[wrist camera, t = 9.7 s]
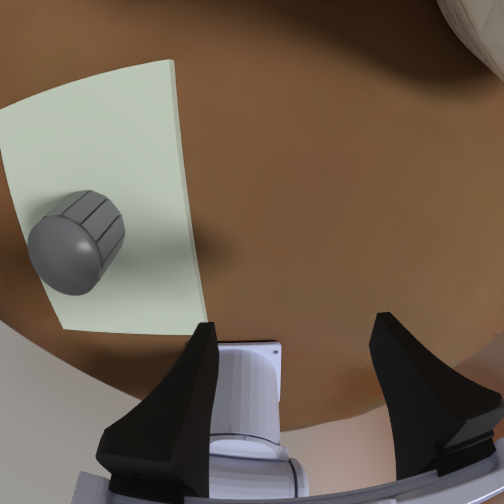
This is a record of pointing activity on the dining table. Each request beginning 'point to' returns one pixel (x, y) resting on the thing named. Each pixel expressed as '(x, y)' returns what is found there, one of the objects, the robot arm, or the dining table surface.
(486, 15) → the vase
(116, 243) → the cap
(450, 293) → the dining table surface
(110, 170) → the post board
